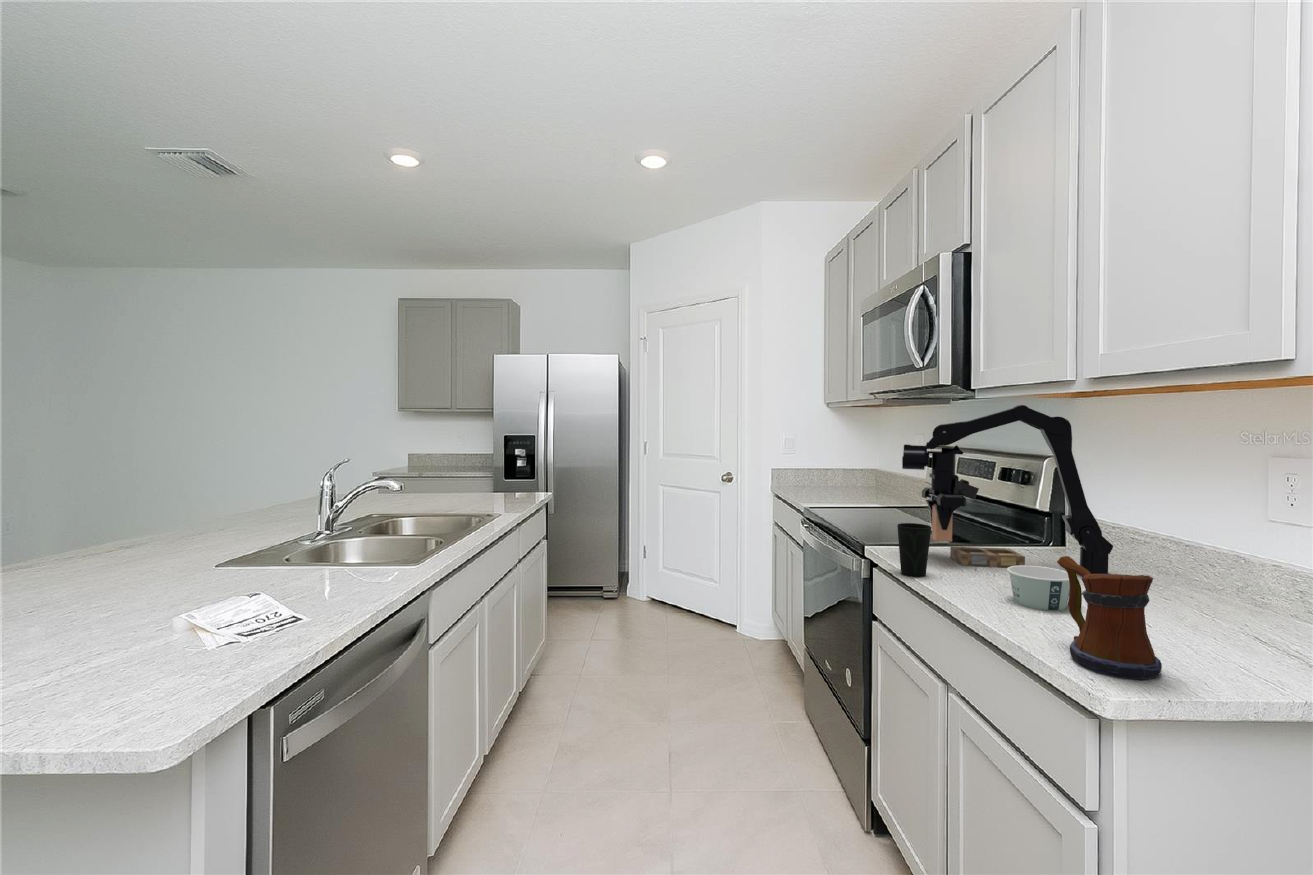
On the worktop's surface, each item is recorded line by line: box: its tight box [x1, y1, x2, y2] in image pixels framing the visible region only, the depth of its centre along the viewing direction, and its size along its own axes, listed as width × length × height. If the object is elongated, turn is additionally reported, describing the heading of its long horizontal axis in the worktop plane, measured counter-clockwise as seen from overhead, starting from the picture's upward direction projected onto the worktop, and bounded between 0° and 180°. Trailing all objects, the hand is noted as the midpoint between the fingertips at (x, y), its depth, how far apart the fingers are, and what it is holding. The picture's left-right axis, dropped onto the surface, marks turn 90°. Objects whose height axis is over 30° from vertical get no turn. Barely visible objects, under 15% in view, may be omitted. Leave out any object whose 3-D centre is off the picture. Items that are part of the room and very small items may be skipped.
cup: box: [896, 522, 932, 578], centre depth 149 cm, size 8×8×12 cm
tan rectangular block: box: [931, 505, 954, 542], centre depth 163 cm, size 4×4×9 cm
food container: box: [1006, 564, 1070, 611], centre depth 126 cm, size 12×12×6 cm
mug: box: [1056, 555, 1163, 681], centre depth 97 cm, size 18×12×15 cm, turn 0°
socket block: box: [949, 545, 1026, 569], centre depth 162 cm, size 10×15×3 cm
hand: (942, 528), depth 163 cm, fingers closed on tan rectangular block, 4 cm apart
